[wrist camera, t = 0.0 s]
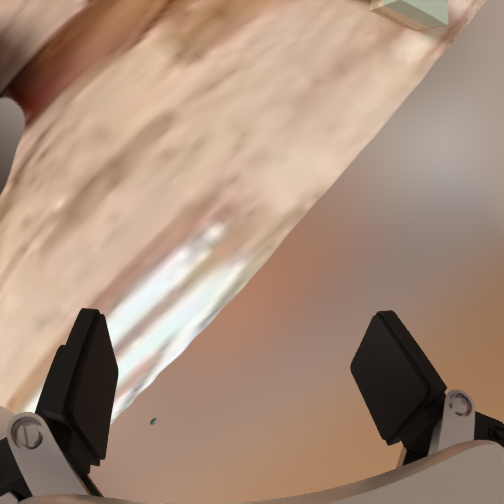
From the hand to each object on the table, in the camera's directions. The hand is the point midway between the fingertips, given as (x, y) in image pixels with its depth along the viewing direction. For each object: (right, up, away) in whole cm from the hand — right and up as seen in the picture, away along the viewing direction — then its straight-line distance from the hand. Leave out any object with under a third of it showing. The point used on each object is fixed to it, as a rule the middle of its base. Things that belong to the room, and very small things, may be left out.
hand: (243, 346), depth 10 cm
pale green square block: (+21, +38, +14) cm, 45 cm away
